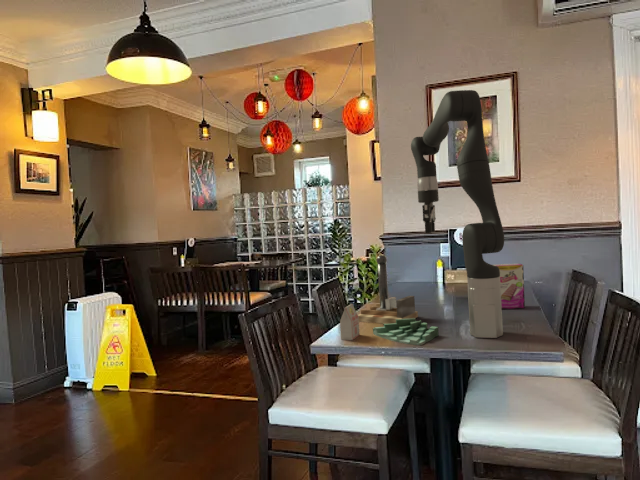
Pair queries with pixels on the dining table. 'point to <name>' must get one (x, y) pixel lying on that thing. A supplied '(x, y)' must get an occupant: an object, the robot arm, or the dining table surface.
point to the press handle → (384, 287)
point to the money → (407, 332)
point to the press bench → (385, 317)
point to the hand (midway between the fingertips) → (430, 232)
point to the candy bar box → (512, 285)
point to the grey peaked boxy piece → (349, 323)
